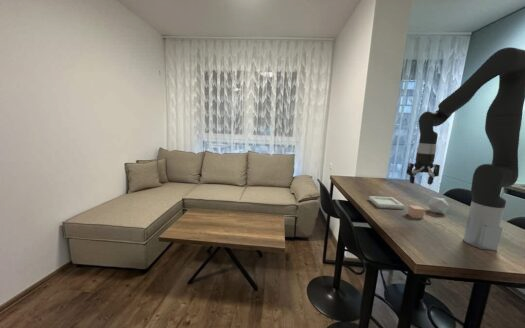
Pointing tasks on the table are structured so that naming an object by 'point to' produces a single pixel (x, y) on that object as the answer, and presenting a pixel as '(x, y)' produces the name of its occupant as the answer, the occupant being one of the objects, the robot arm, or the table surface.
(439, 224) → the table surface
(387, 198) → the tray
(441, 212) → the die
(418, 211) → the cube
